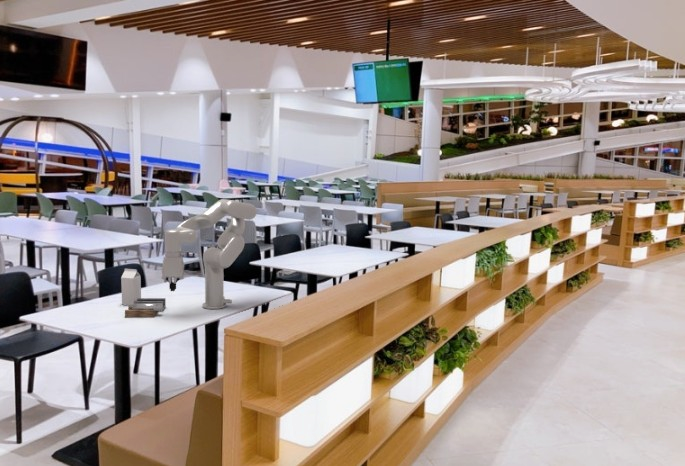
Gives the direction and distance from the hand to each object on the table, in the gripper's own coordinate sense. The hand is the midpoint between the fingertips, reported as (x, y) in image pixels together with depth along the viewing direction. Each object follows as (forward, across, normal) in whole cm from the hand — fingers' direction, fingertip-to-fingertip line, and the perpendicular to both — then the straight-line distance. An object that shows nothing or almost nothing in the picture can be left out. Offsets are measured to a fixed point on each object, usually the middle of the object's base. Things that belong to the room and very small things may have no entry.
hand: (172, 290), depth 289 cm
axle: (+11, +12, -1) cm, 16 cm away
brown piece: (+13, +15, -1) cm, 20 cm away
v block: (+13, +13, -11) cm, 21 cm away
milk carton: (+13, +25, -22) cm, 36 cm away
